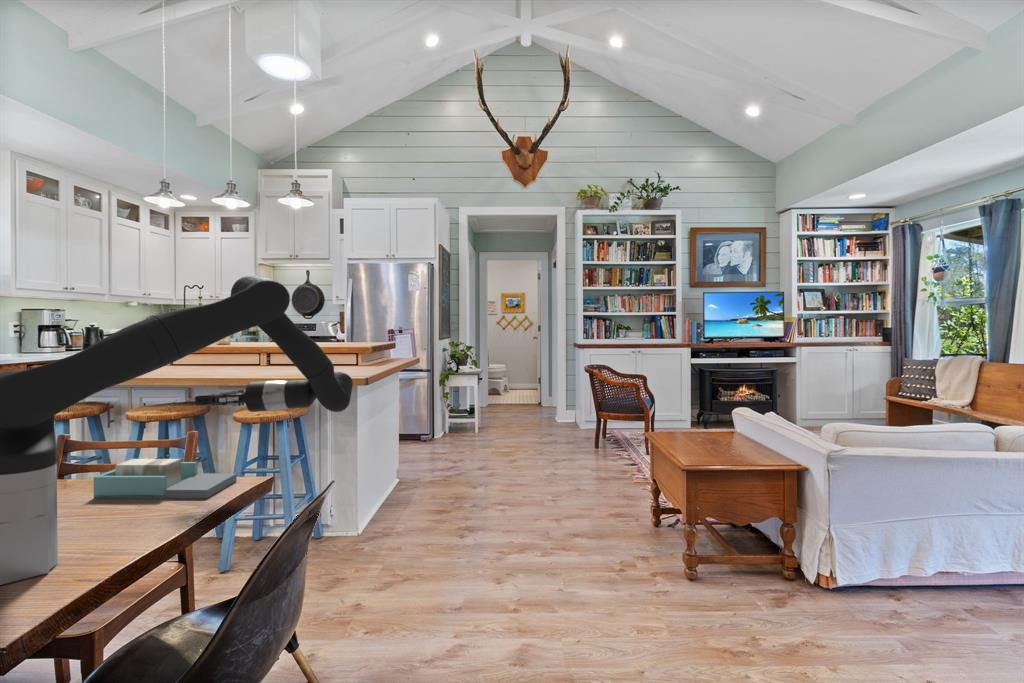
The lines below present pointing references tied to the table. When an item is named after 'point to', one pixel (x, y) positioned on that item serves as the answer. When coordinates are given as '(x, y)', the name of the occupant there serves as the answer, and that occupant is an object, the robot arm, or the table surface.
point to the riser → (200, 485)
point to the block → (152, 469)
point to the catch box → (137, 484)
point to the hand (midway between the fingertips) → (196, 400)
